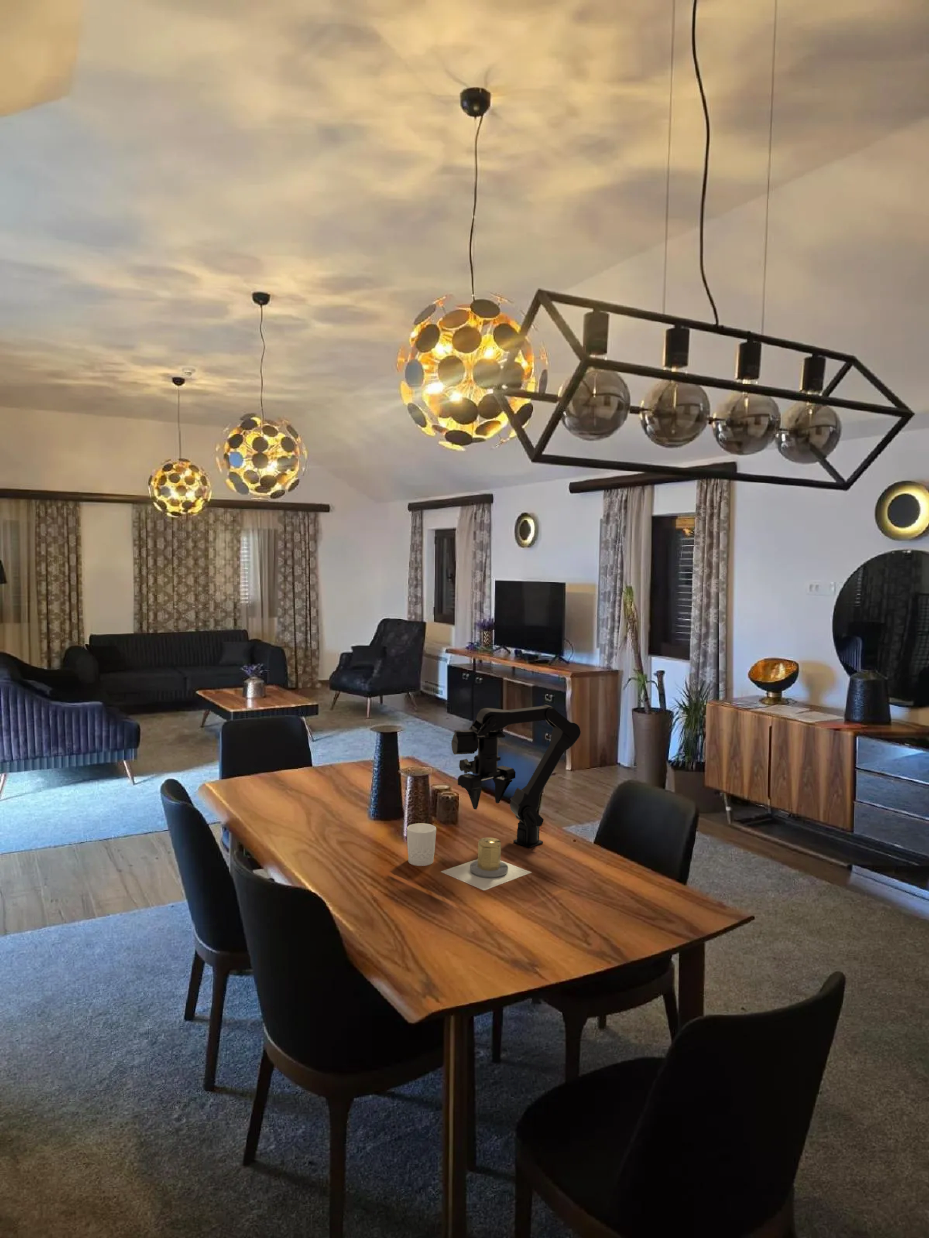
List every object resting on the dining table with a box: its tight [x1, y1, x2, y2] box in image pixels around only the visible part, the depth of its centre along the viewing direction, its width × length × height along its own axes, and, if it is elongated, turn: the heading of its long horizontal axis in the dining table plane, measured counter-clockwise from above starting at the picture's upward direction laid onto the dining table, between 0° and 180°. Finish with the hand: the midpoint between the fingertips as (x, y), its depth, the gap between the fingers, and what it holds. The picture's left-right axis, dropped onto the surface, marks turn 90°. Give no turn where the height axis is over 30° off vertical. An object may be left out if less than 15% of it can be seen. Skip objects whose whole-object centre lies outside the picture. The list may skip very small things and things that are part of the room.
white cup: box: [406, 822, 437, 867], centre depth 212 cm, size 8×8×10 cm
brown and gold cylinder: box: [477, 837, 502, 871], centre depth 206 cm, size 6×6×7 cm
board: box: [440, 858, 532, 891], centre depth 206 cm, size 18×16×1 cm
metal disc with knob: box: [470, 861, 508, 878], centre depth 206 cm, size 10×10×6 cm
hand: (486, 806), depth 226 cm, fingers open, 9 cm apart
